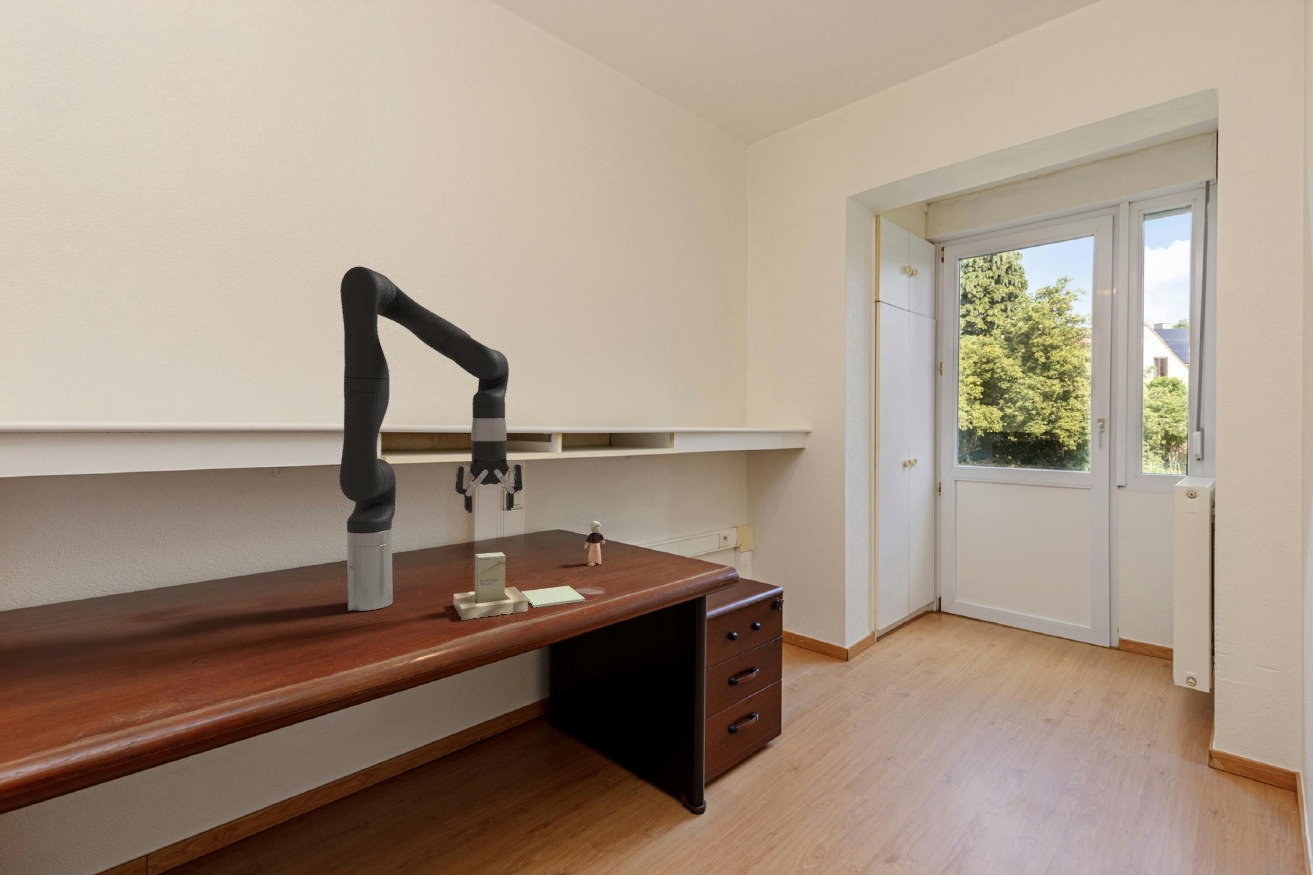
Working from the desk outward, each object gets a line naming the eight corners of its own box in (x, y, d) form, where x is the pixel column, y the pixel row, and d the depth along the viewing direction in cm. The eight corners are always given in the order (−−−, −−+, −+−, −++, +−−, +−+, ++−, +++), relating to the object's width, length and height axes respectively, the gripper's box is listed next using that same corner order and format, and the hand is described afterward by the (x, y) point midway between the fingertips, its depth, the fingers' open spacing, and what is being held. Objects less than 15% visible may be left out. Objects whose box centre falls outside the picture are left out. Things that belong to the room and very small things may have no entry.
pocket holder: (462, 620, 131) (462, 608, 131) (453, 604, 142) (453, 594, 142) (527, 611, 137) (527, 600, 137) (514, 597, 148) (514, 586, 148)
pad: (534, 607, 140) (534, 605, 140) (521, 593, 151) (521, 591, 151) (584, 600, 145) (584, 598, 145) (568, 588, 156) (568, 585, 156)
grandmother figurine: (592, 567, 177) (592, 523, 177) (582, 565, 179) (581, 521, 179) (608, 562, 184) (608, 519, 183) (598, 560, 186) (598, 518, 185)
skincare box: (477, 612, 136) (476, 557, 136) (474, 607, 140) (473, 553, 140) (506, 609, 139) (505, 555, 138) (502, 603, 143) (502, 551, 143)
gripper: (458, 439, 132) (459, 516, 132) (525, 439, 138) (525, 511, 139) (453, 438, 139) (453, 511, 139) (516, 437, 145) (517, 507, 146)
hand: (489, 511), depth 139 cm, fingers open, 8 cm apart
